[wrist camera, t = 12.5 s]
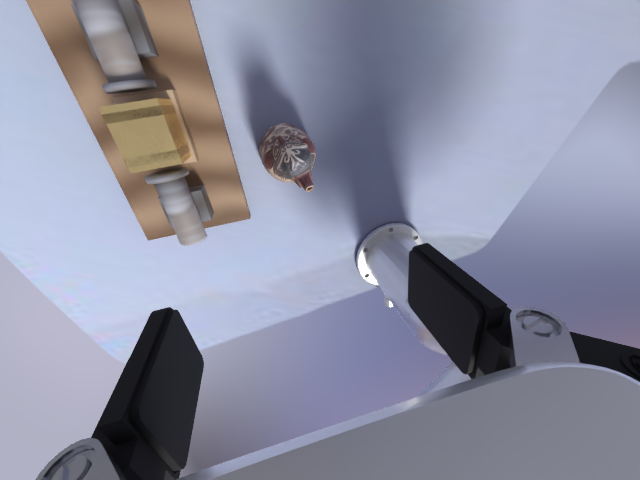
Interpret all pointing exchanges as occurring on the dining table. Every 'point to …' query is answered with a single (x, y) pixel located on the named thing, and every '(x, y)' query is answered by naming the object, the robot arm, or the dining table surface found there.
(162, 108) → the block
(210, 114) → the shaft jig
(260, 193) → the dining table surface
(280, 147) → the figurine
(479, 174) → the dining table surface
